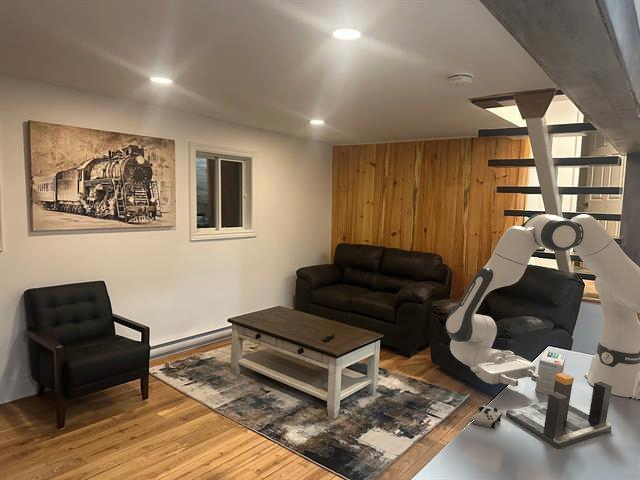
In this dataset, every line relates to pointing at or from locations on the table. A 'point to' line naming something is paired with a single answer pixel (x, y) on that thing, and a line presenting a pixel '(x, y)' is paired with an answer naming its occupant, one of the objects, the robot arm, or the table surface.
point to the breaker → (564, 387)
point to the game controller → (486, 417)
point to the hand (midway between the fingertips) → (527, 381)
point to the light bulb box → (549, 371)
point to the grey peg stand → (577, 427)
